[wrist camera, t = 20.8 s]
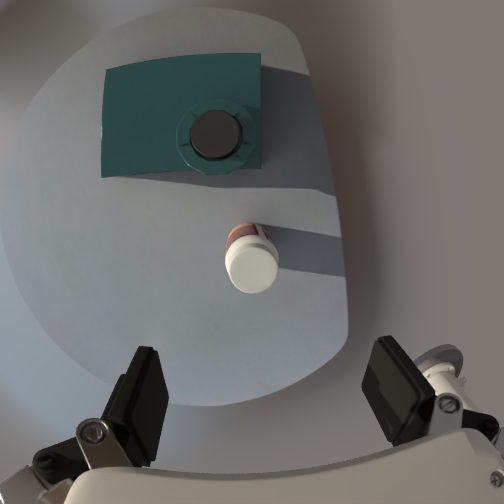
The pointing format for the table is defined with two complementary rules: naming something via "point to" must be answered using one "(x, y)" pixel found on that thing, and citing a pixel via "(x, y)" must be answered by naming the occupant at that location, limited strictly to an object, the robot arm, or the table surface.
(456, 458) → the robot arm
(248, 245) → the pill bottle
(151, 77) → the teal rectangular block
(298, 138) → the table surface
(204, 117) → the dark grey push button
